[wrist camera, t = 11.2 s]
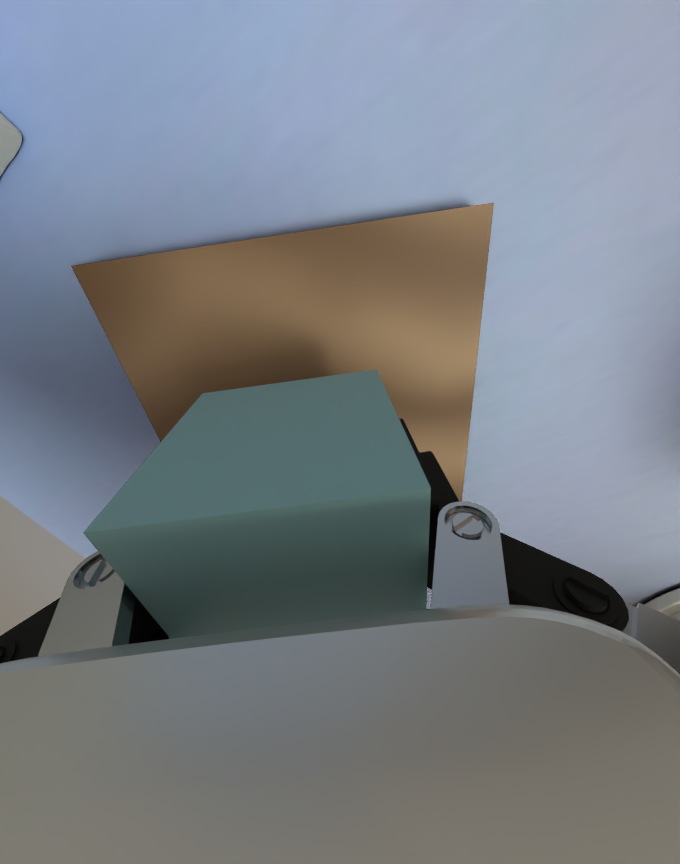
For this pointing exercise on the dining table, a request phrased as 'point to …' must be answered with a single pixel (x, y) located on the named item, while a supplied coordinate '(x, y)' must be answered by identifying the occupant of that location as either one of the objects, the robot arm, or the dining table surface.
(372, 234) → the walnut board
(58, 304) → the dining table surface
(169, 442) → the teal cube
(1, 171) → the skincare box
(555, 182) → the dining table surface
